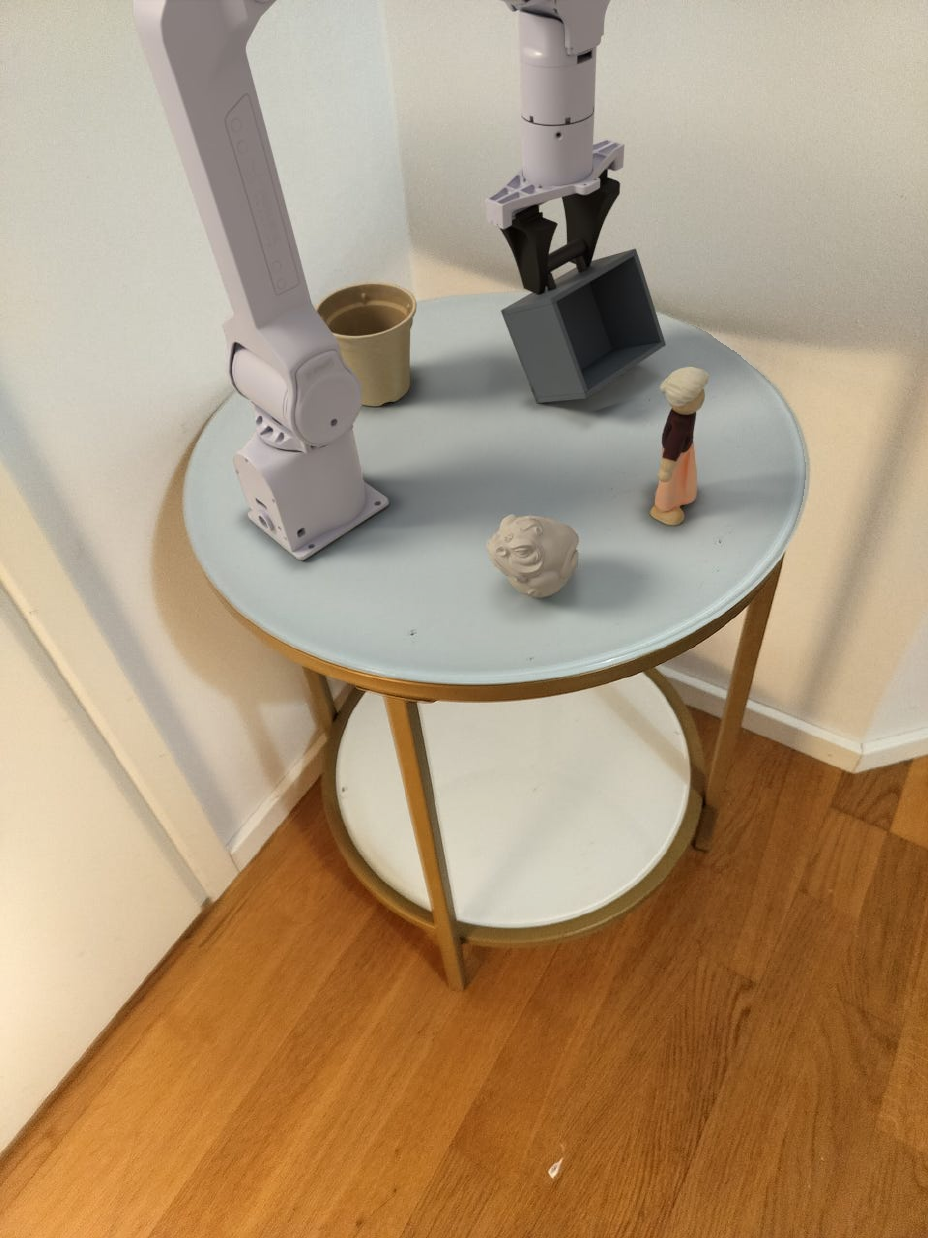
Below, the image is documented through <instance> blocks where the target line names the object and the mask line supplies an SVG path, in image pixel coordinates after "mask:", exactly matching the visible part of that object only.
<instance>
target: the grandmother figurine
mask: <svg viewBox="0 0 928 1238" xmlns="http://www.w3.org/2000/svg"><path fill="white" fill-rule="evenodd" d="M708 382H709V374H708V372H707V371H705V370H704V369H702V368H698V367H696V366H686V367H680V368H677V369H676V370H674V371H672V372H671V373H670V374H669V375H668V376H667V377H665V379H664V380H663V381H662V382H661V384H660V385H659V390H660V391H661V392H662V393H665V398H666V400H667V401H668V403H669V406H670V407H671V409H670V411H669V412H668V415H667V418H666V421H665V424H664V427H663V431H662V434H661V445H662V446H661V463H660V469H659V471H658V473H657V478H658V486H657V489H656V490H655V492H654V498H655V499H654V505H653V506H652V507H651V509H650V512H649V514H650V516H651V518H653V519H655V520H656V521H659V522H661V523H663V524H665V525H667V526H673V527H674V526H679V525H680V524H682V523H683V521H684V519H685V512H684V511H683V510H682V508H681V506H683V505H689V504H691V503H693V502H694V501H695V499H697V492H698V491H697V490H698V470H697V469H698V468H697V460H696V450H695V449H696V448H695V443H694V442H695V441H694V432H695V426H696V419H697V412H698V411H699V410H700V409H701V408H702V406H703V405H704V402H705V398H706V393H705V389H704V388H705V387H706V385H707V384H708Z"/></svg>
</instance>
